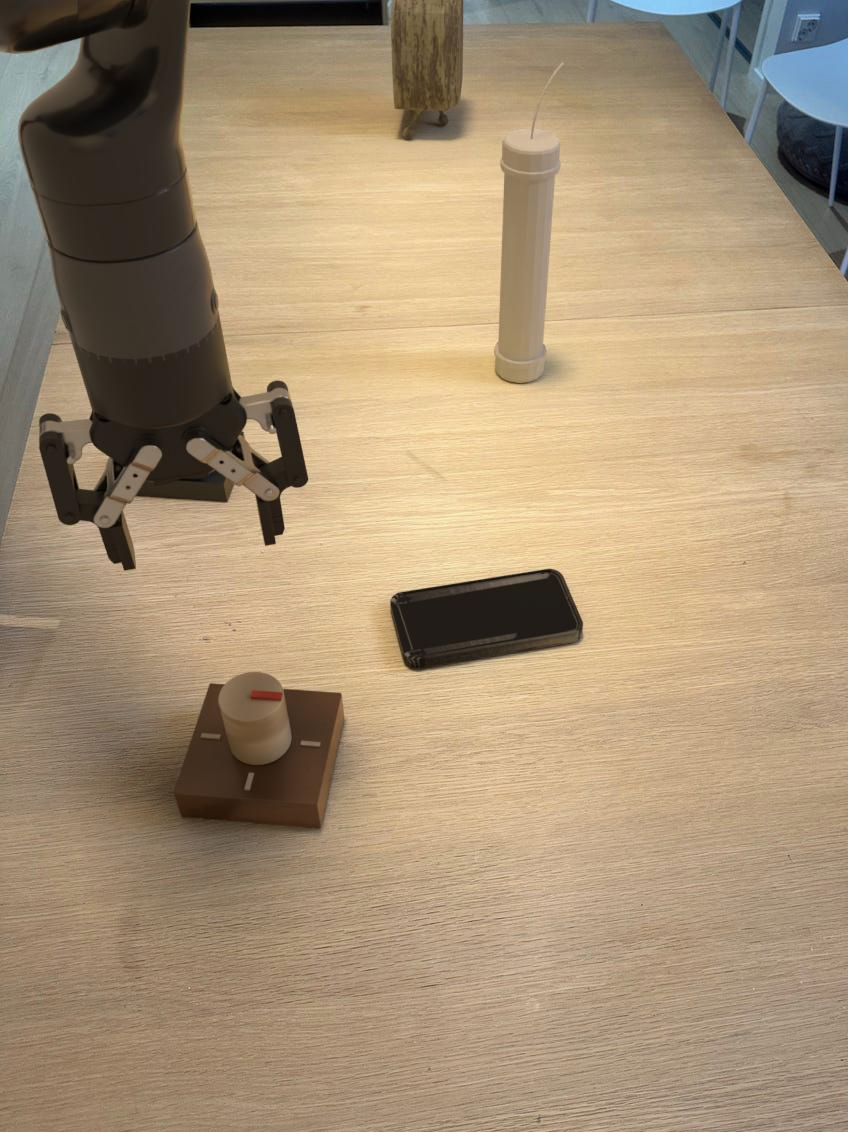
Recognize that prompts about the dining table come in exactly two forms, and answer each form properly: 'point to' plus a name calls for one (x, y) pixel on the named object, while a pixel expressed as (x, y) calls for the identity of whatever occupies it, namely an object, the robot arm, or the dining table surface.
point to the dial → (255, 718)
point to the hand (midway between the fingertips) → (199, 549)
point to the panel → (263, 766)
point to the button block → (192, 488)
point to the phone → (484, 618)
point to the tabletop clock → (426, 56)
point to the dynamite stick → (525, 249)
